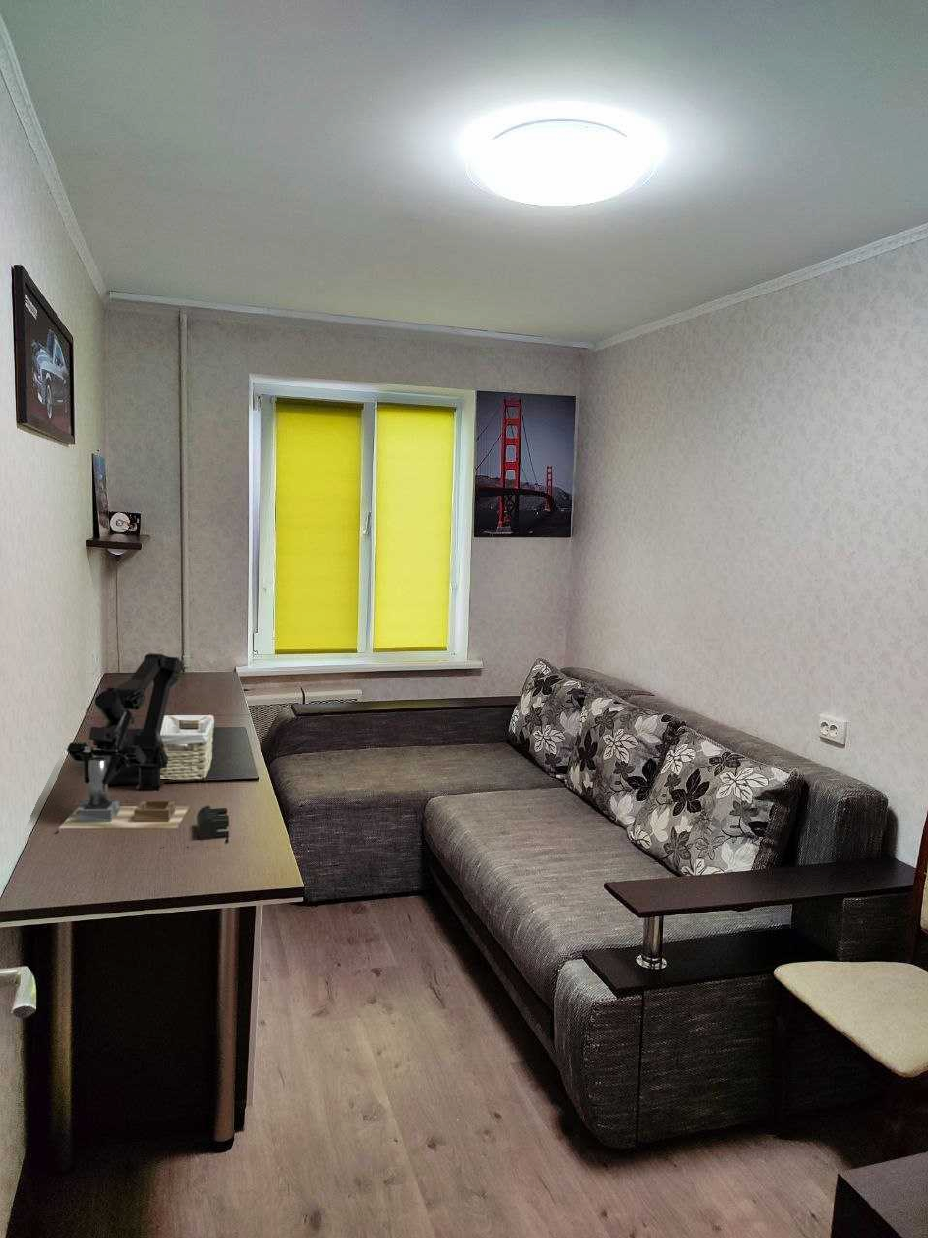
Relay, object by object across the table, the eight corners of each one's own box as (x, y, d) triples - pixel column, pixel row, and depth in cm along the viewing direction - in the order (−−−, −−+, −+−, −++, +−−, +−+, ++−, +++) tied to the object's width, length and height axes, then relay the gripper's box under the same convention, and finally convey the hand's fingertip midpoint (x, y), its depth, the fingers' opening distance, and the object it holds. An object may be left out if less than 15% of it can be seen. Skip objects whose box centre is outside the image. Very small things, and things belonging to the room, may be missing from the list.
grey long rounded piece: (97, 798, 228) (97, 756, 227) (111, 800, 226) (111, 758, 225) (85, 803, 224) (84, 760, 222) (98, 805, 222) (98, 763, 221)
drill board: (79, 812, 233) (79, 795, 232) (189, 811, 236) (189, 795, 235) (58, 834, 217) (58, 816, 216) (177, 833, 220) (177, 816, 220)
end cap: (196, 832, 222) (196, 806, 221) (226, 830, 224) (226, 804, 223) (198, 847, 212) (198, 819, 212) (228, 844, 215) (229, 817, 214)
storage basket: (207, 781, 263) (207, 732, 261) (150, 782, 260) (149, 733, 258) (215, 759, 286) (215, 714, 284) (162, 759, 283) (162, 714, 281)
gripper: (69, 711, 227) (46, 765, 218) (140, 715, 225) (119, 770, 216) (86, 733, 236) (64, 786, 226) (154, 737, 234) (135, 791, 225)
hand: (95, 783), depth 223 cm, fingers closed on grey long rounded piece, 4 cm apart
